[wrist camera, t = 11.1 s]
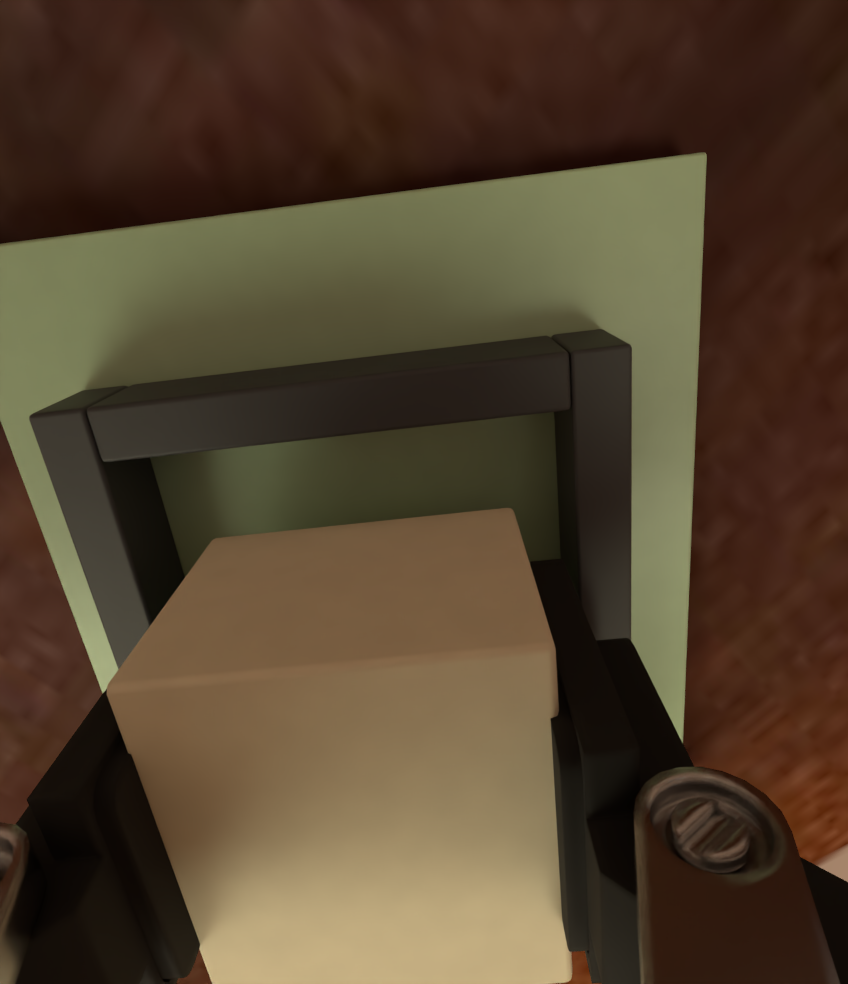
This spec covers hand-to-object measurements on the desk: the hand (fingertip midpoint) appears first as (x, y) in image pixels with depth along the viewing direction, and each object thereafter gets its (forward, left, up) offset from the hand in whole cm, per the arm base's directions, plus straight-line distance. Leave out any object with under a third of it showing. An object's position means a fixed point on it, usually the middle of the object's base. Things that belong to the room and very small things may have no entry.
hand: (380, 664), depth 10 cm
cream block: (0, 0, 0) cm, 0 cm away
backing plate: (0, 0, -2) cm, 2 cm away
